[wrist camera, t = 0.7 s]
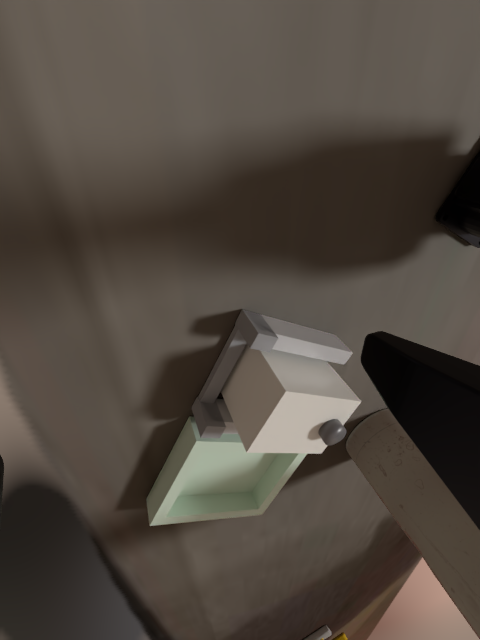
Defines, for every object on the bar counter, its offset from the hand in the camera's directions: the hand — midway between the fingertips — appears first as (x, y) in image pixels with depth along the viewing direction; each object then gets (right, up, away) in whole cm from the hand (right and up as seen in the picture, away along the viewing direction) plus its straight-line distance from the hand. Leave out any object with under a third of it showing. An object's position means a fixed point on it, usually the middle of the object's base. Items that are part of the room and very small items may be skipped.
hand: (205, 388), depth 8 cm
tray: (0, -12, +24) cm, 27 cm away
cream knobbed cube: (+3, -3, +20) cm, 20 cm away
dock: (+3, -3, +20) cm, 20 cm away
